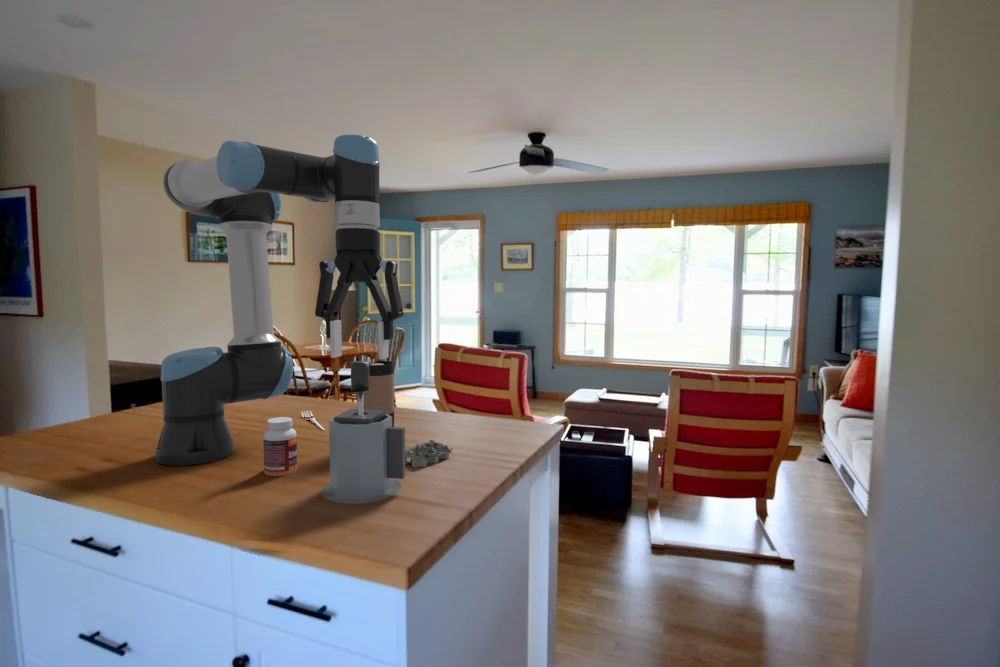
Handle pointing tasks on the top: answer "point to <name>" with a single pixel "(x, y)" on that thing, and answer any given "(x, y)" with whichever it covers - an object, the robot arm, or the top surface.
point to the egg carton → (426, 453)
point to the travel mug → (380, 388)
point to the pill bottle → (280, 447)
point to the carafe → (365, 454)
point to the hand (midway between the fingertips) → (359, 357)
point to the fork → (312, 419)
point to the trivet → (332, 497)
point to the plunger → (360, 382)
